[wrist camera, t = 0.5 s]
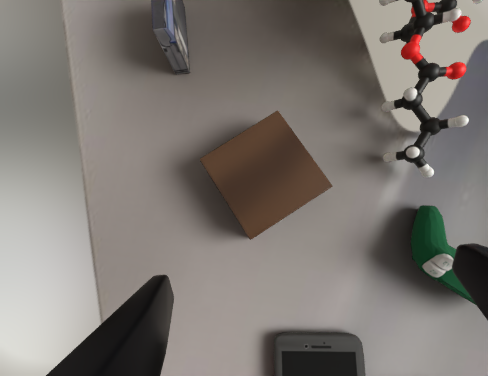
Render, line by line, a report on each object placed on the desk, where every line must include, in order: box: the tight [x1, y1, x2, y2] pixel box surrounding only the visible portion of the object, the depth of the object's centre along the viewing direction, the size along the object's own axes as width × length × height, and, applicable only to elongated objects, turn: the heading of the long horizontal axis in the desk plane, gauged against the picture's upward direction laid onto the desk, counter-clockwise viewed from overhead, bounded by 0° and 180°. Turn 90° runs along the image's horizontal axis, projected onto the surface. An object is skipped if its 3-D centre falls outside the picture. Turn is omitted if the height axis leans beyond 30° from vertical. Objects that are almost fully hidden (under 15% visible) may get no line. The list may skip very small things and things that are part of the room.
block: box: [200, 111, 332, 240], centre depth 22 cm, size 8×8×4 cm
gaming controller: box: [411, 206, 476, 305], centre depth 20 cm, size 9×4×6 cm
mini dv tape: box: [151, 0, 190, 74], centre depth 24 cm, size 8×2×6 cm, turn 6°
